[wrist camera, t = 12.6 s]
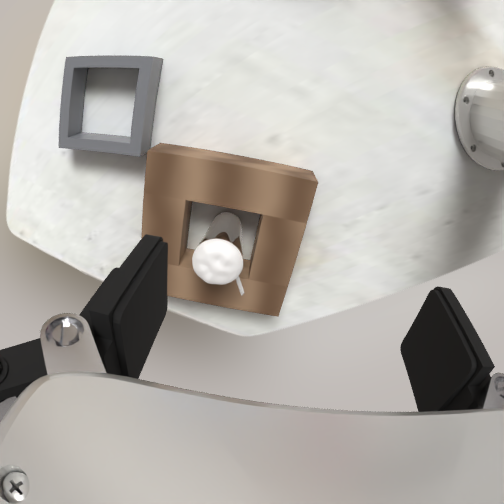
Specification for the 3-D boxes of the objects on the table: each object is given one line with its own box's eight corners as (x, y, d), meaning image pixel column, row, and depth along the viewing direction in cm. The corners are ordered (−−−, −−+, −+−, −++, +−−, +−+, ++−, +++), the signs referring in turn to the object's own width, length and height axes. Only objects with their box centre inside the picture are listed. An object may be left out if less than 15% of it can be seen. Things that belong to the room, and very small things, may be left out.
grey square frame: (163, 58, 27) (153, 56, 25) (149, 150, 32) (140, 156, 29) (80, 57, 27) (66, 57, 24) (72, 142, 31) (58, 147, 29)
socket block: (312, 171, 33) (318, 182, 29) (277, 295, 40) (278, 316, 37) (160, 143, 32) (147, 150, 28) (150, 271, 39) (140, 289, 36)
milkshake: (236, 255, 38) (226, 309, 29) (198, 227, 36) (177, 276, 27) (262, 227, 36) (260, 278, 27) (223, 197, 34) (208, 240, 26)
